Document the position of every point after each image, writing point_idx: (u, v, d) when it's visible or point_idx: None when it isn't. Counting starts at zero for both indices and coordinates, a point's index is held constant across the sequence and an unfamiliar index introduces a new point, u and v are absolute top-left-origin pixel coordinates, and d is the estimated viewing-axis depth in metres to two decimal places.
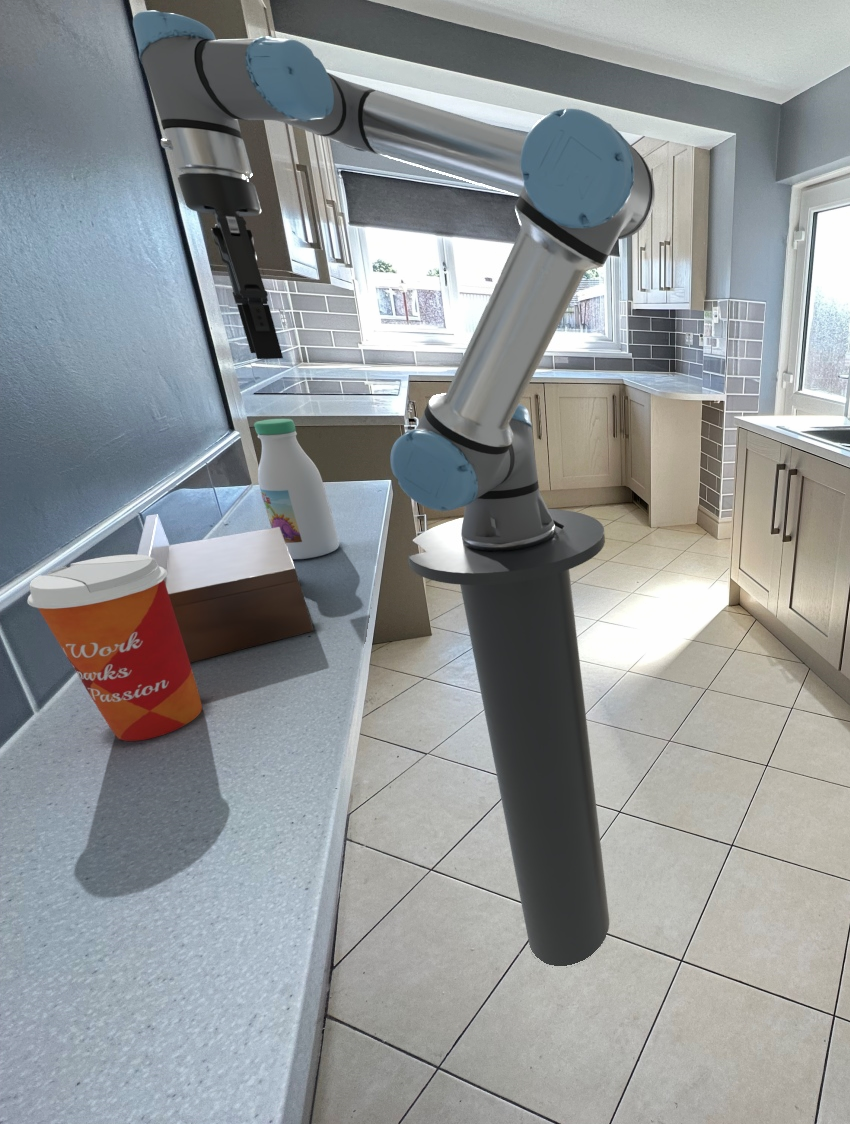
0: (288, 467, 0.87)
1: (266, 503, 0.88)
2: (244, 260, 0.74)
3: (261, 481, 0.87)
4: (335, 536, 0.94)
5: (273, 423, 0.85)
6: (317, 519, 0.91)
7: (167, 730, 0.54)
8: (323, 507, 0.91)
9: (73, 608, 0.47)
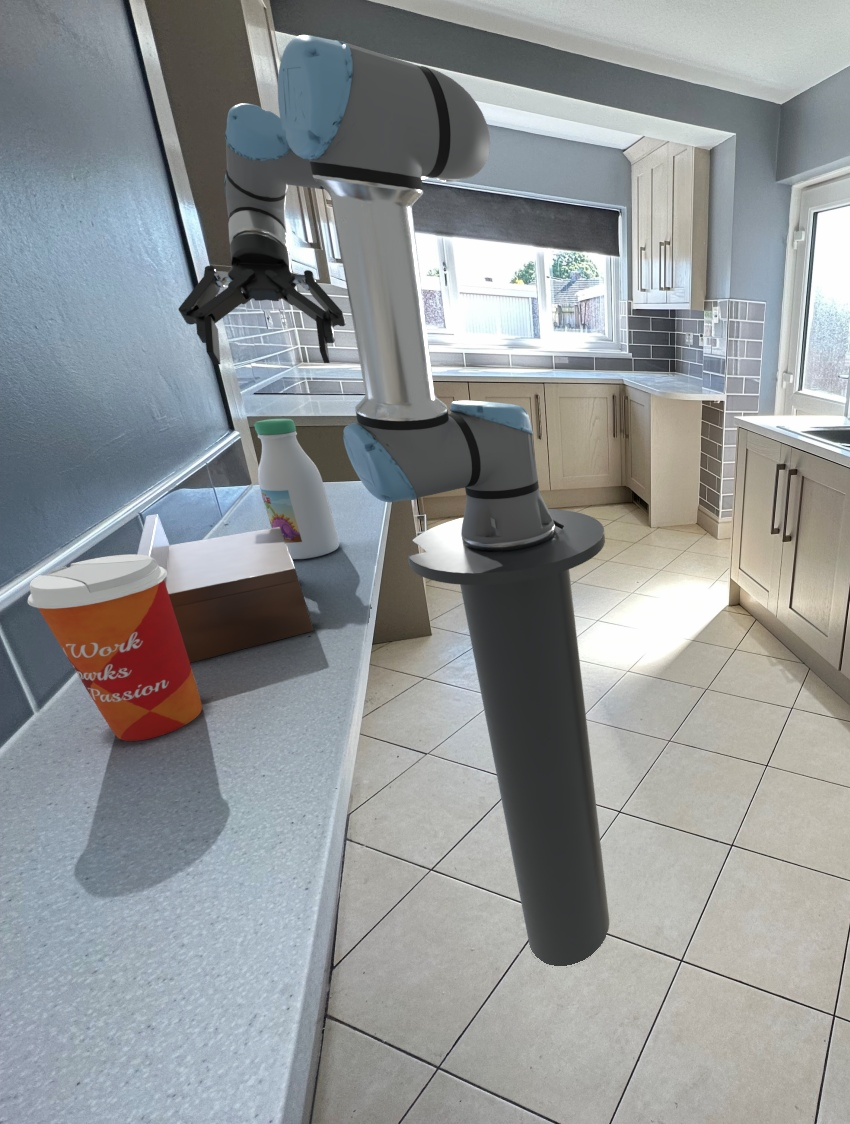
0: (288, 467, 0.87)
1: (266, 503, 0.88)
2: None
3: (261, 481, 0.87)
4: (335, 536, 0.94)
5: (273, 423, 0.85)
6: (317, 519, 0.91)
7: (167, 730, 0.54)
8: (323, 507, 0.91)
9: (73, 608, 0.47)
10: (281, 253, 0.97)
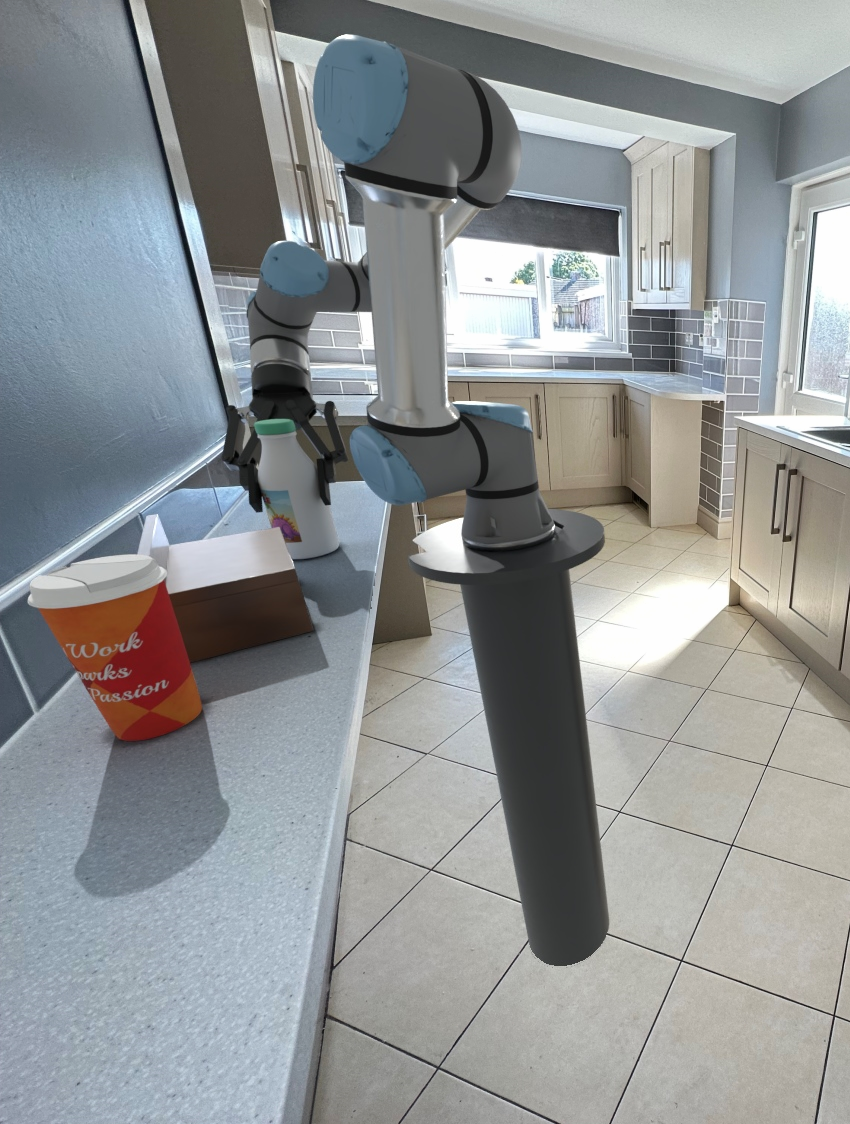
0: (288, 467, 0.87)
1: (266, 503, 0.88)
2: None
3: (261, 481, 0.87)
4: (335, 536, 0.94)
5: (273, 423, 0.85)
6: (317, 519, 0.91)
7: (167, 730, 0.54)
8: (323, 507, 0.91)
9: (73, 608, 0.47)
10: (302, 380, 0.94)
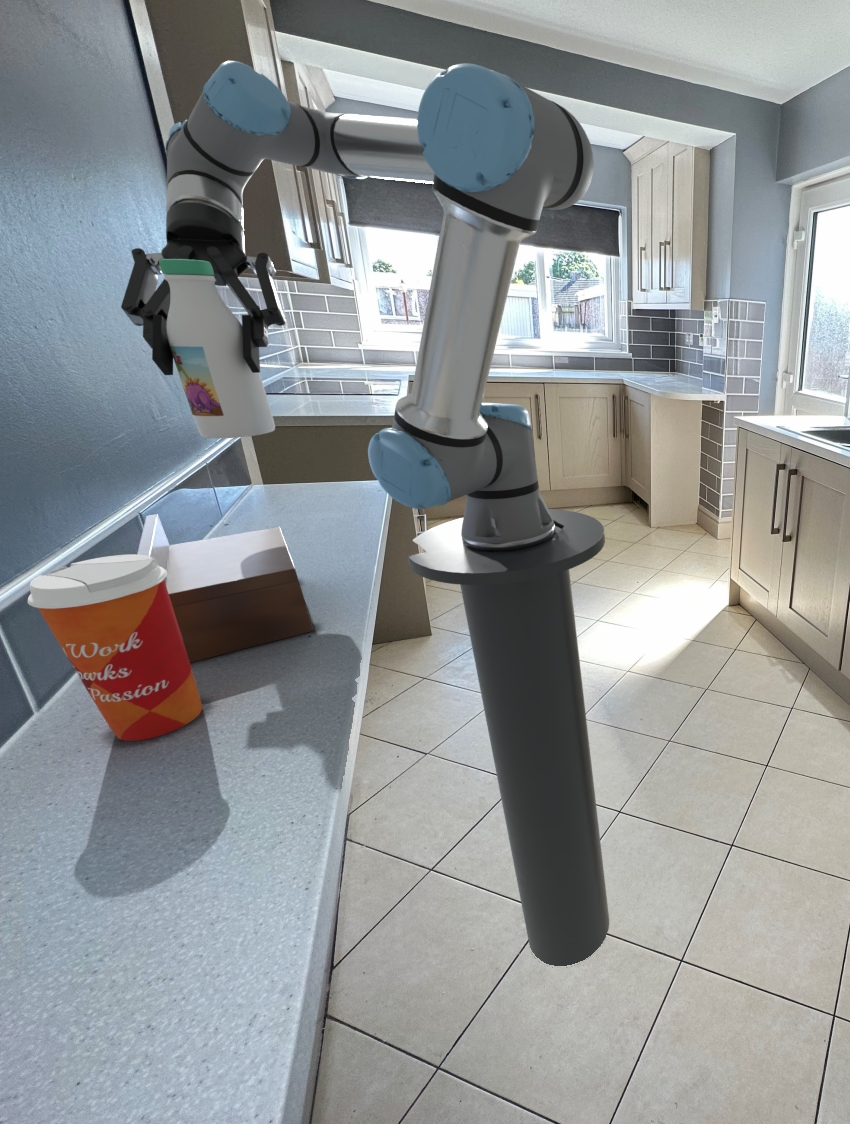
0: (203, 318, 0.70)
1: (177, 364, 0.71)
2: None
3: (169, 335, 0.70)
4: (268, 416, 0.78)
5: (182, 259, 0.69)
6: (243, 389, 0.74)
7: (167, 730, 0.54)
8: (251, 376, 0.75)
9: (73, 608, 0.47)
10: (229, 226, 0.77)
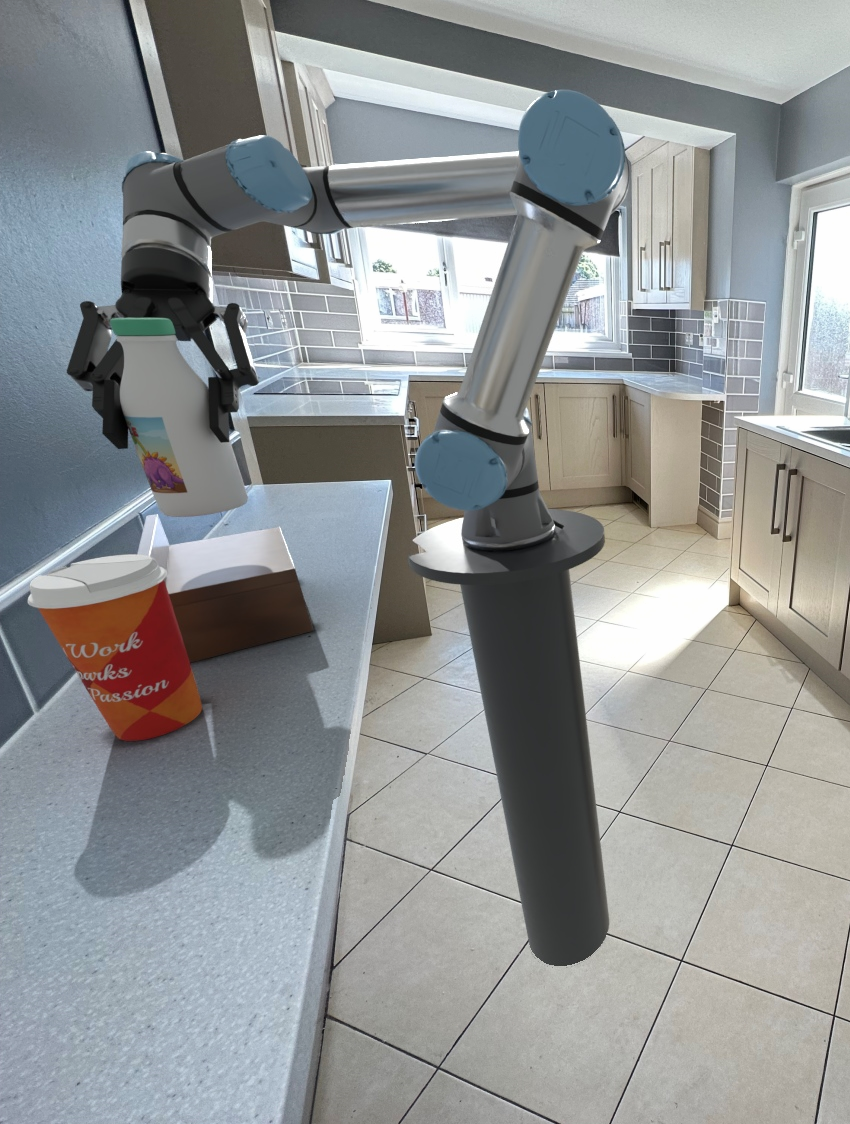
0: (162, 385, 0.61)
1: (133, 436, 0.62)
2: None
3: (123, 404, 0.61)
4: (240, 488, 0.69)
5: (137, 319, 0.60)
6: (210, 461, 0.65)
7: (167, 730, 0.54)
8: (219, 445, 0.66)
9: (73, 608, 0.47)
10: (194, 274, 0.68)
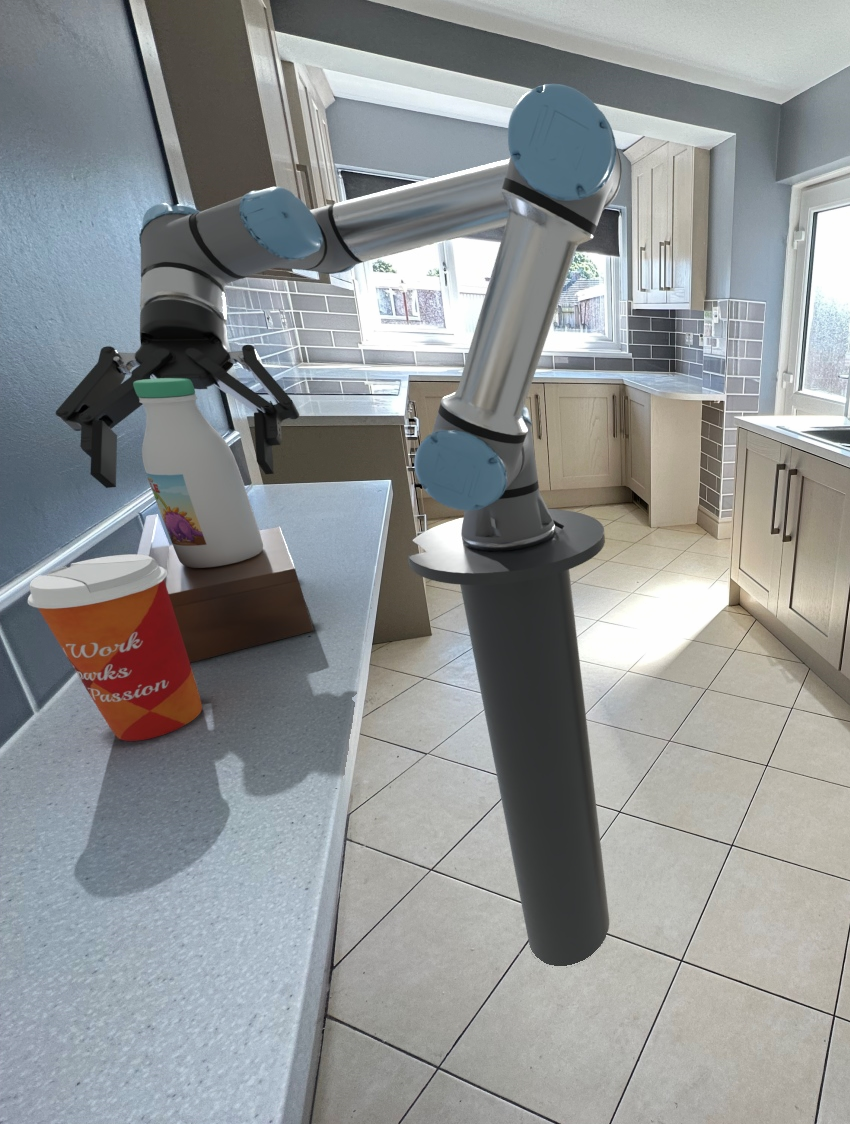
0: (183, 443, 0.64)
1: (154, 492, 0.65)
2: None
3: (145, 462, 0.63)
4: (256, 537, 0.71)
5: (159, 382, 0.62)
6: (228, 513, 0.68)
7: (167, 730, 0.54)
8: (237, 498, 0.68)
9: (73, 608, 0.47)
10: (210, 323, 0.71)
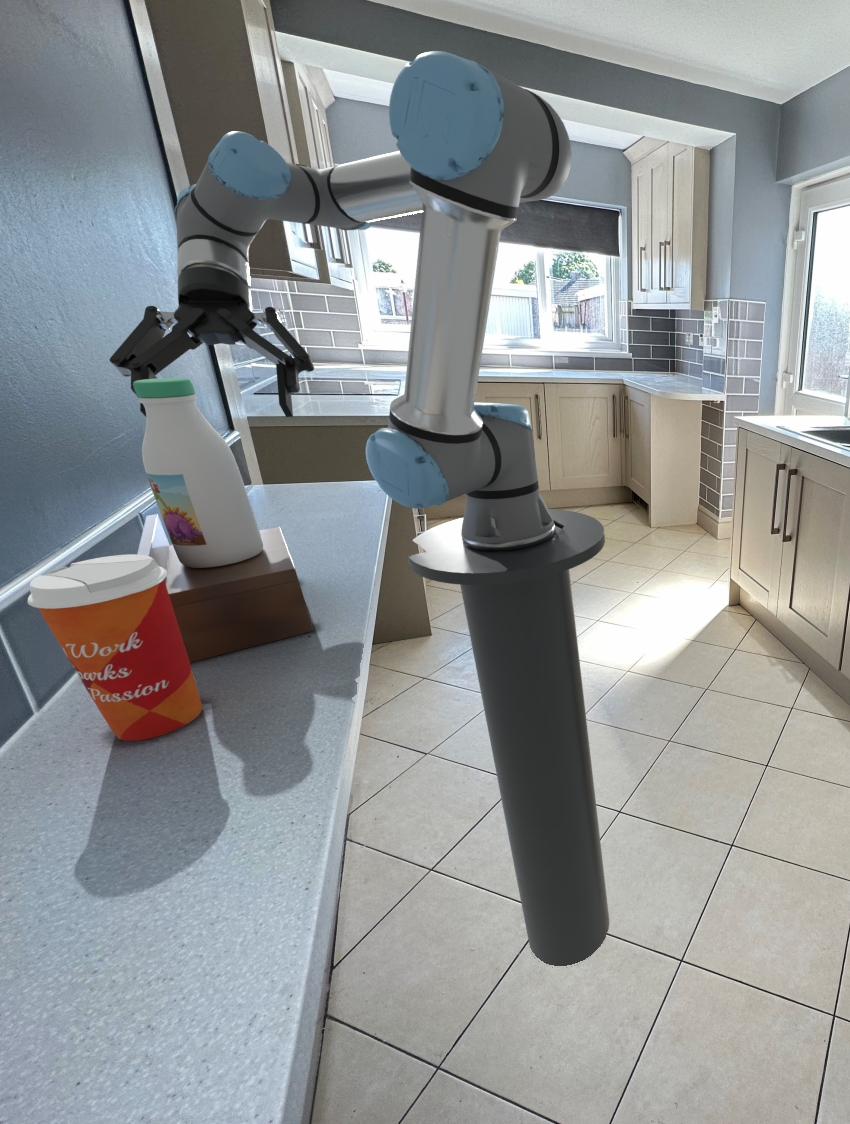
0: (183, 443, 0.64)
1: (154, 492, 0.65)
2: None
3: (145, 462, 0.63)
4: (256, 537, 0.71)
5: (159, 382, 0.62)
6: (228, 513, 0.68)
7: (167, 730, 0.54)
8: (237, 498, 0.68)
9: (73, 608, 0.47)
10: (238, 288, 0.82)
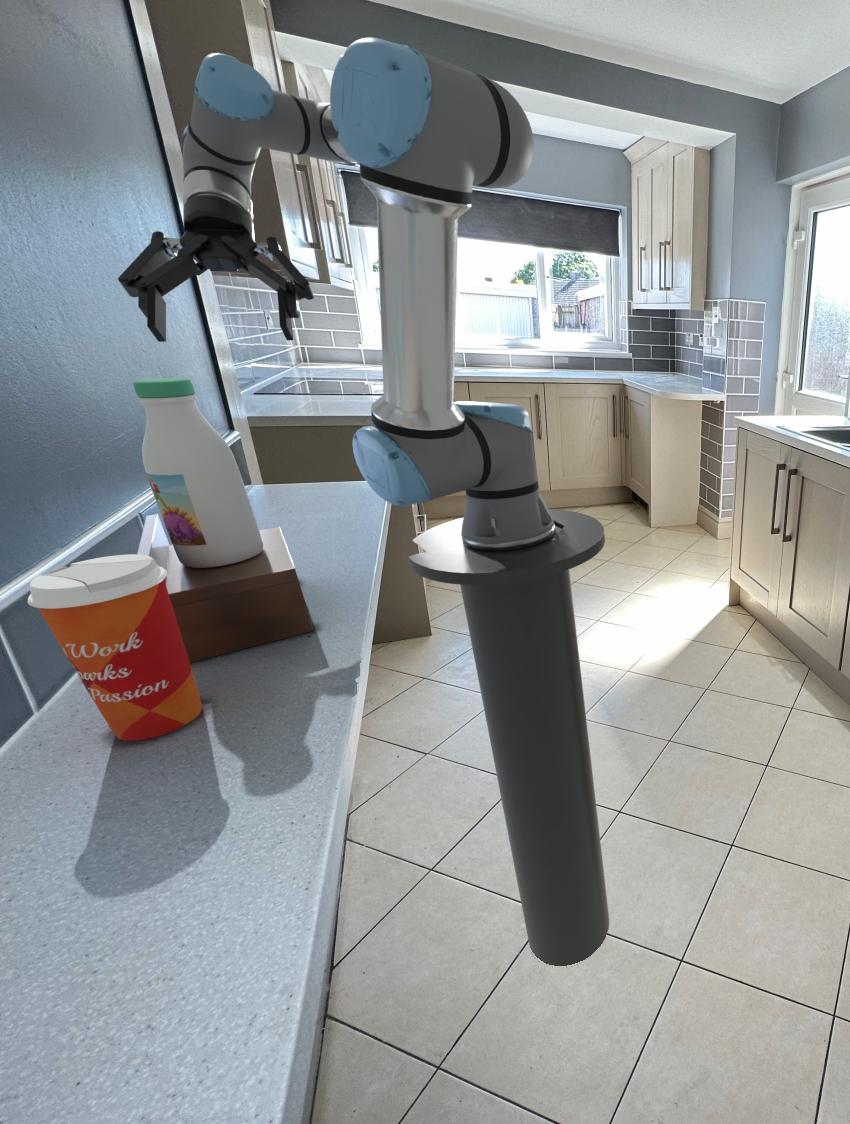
0: (183, 443, 0.64)
1: (154, 492, 0.65)
2: None
3: (145, 462, 0.63)
4: (256, 537, 0.71)
5: (159, 382, 0.62)
6: (228, 513, 0.68)
7: (167, 730, 0.54)
8: (237, 498, 0.68)
9: (73, 608, 0.47)
10: (241, 217, 0.85)
